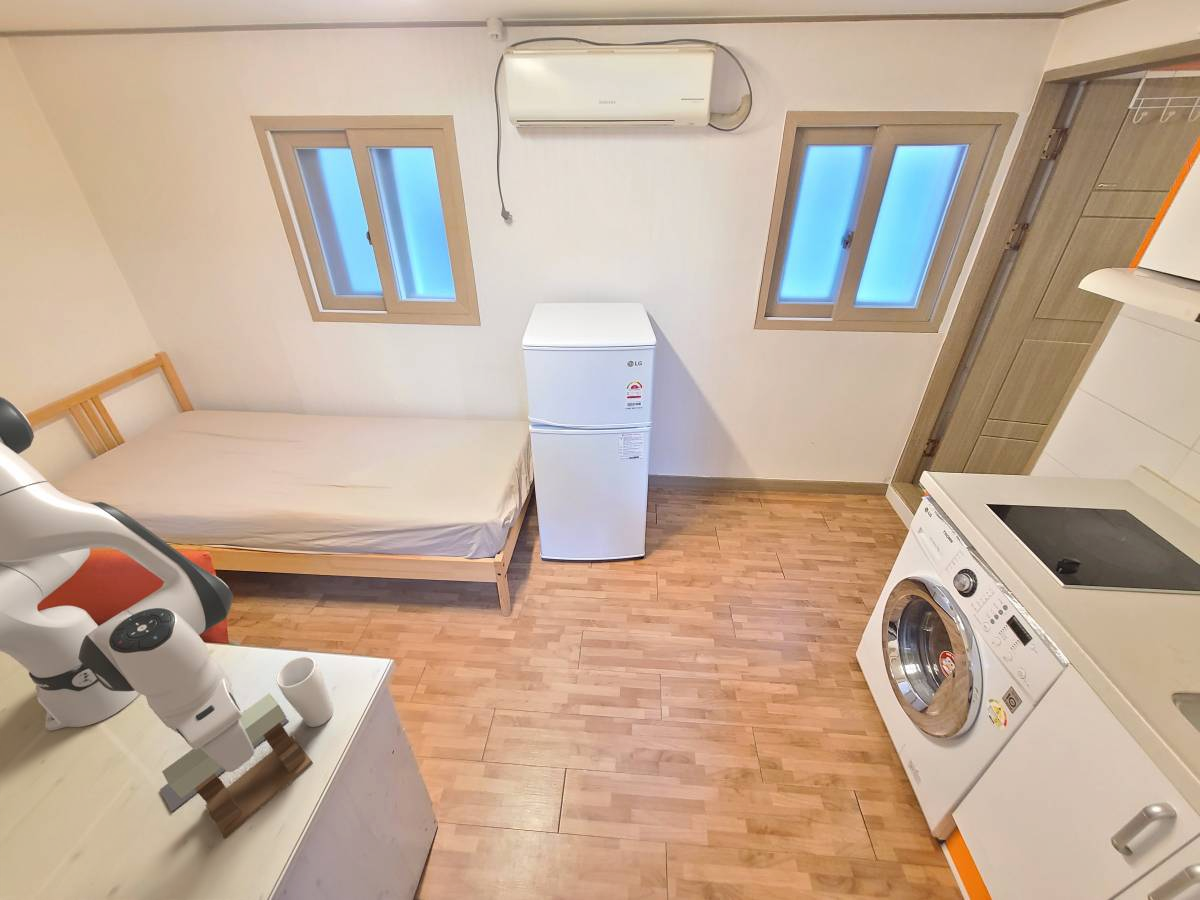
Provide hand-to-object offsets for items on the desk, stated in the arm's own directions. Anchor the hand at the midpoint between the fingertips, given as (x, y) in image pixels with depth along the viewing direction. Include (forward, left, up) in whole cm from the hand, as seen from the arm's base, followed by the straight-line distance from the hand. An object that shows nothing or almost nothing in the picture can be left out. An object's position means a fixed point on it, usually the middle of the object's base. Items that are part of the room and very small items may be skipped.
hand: (230, 742), depth 82 cm
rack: (0, 0, -14) cm, 14 cm away
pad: (-11, -2, -14) cm, 18 cm away
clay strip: (0, 0, -2) cm, 2 cm away
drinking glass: (-4, +13, -15) cm, 20 cm away
